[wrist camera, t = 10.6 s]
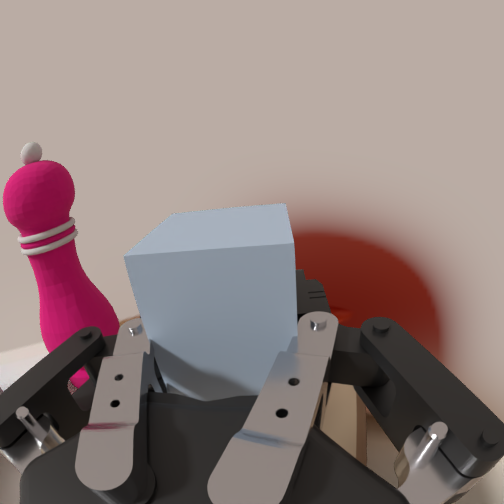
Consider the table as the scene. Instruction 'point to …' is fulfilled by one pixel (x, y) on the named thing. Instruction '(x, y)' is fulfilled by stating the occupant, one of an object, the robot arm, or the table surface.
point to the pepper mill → (54, 252)
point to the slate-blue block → (217, 297)
